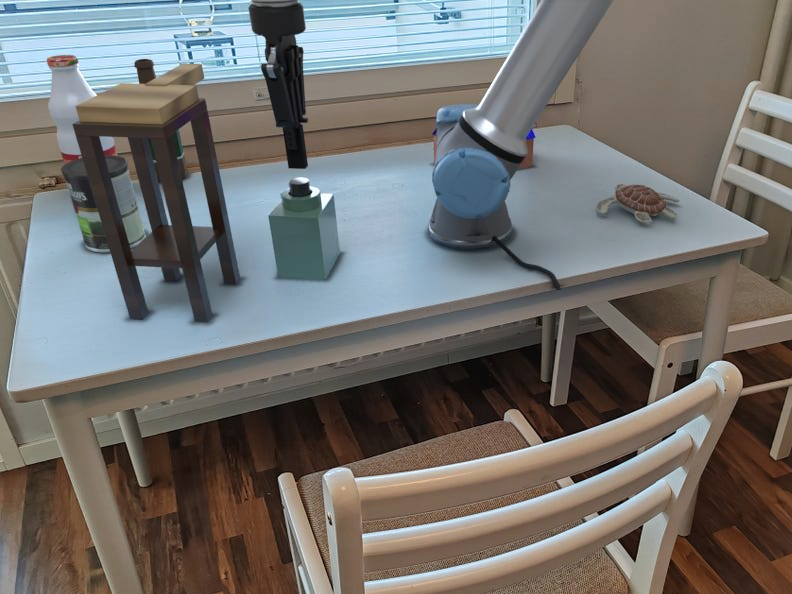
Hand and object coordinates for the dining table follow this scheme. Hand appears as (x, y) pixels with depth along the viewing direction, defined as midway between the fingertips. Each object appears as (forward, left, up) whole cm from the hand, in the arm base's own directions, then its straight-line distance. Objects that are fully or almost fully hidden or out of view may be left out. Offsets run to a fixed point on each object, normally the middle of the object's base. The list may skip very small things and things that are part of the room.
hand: (298, 166), depth 116 cm
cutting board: (+11, +14, +12) cm, 21 cm away
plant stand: (+8, +19, -17) cm, 27 cm away
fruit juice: (+52, +5, -17) cm, 55 cm away
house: (+5, -59, -17) cm, 61 cm away
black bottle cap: (0, 0, -5) cm, 5 cm away
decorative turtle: (-35, -55, -17) cm, 67 cm away
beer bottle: (+56, -13, -17) cm, 60 cm away
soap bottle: (0, 0, -17) cm, 17 cm away
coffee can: (+36, +13, -17) cm, 42 cm away
